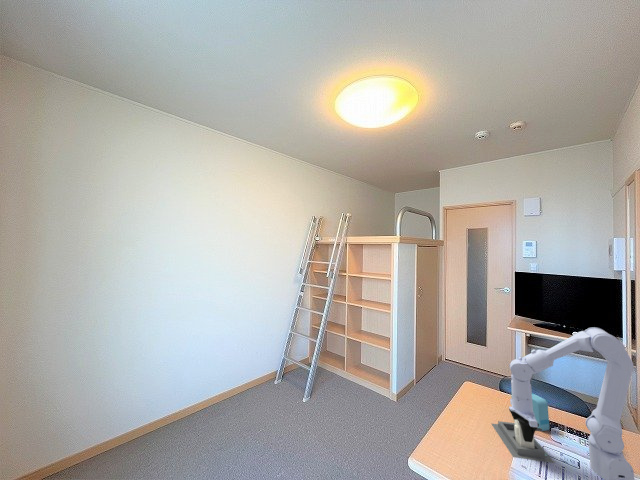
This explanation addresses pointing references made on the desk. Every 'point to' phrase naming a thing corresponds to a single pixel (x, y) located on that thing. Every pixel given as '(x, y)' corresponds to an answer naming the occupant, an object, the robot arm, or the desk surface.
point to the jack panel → (509, 440)
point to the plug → (520, 438)
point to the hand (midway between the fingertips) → (524, 436)
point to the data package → (540, 411)
